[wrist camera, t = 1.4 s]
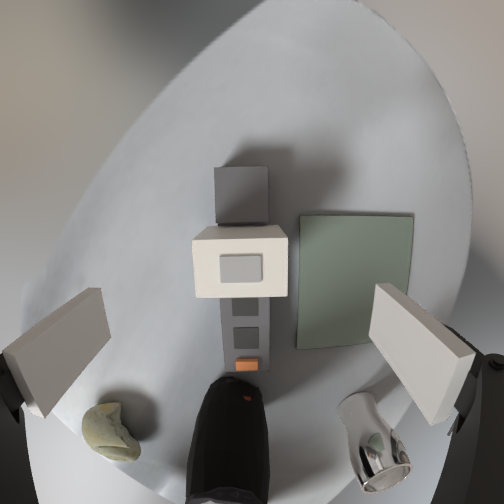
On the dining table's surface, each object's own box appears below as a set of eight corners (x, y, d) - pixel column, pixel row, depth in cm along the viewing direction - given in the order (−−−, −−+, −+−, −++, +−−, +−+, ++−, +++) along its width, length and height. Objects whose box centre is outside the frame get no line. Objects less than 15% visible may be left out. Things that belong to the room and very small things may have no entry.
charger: (278, 268, 29) (287, 297, 21) (210, 269, 29) (195, 298, 21) (277, 224, 28) (288, 238, 20) (208, 226, 28) (191, 240, 20)
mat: (396, 336, 34) (398, 338, 33) (296, 347, 34) (296, 349, 33) (411, 216, 30) (413, 217, 30) (299, 215, 30) (300, 215, 30)
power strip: (267, 355, 34) (269, 374, 30) (227, 355, 34) (224, 374, 30) (265, 168, 29) (268, 165, 25) (218, 170, 29) (213, 167, 25)
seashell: (141, 478, 31) (86, 467, 30) (147, 448, 39) (97, 439, 38) (125, 426, 30) (63, 414, 29) (136, 395, 38) (81, 387, 36)
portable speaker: (234, 361, 34) (224, 489, 15) (278, 400, 36) (292, 517, 17) (189, 390, 35) (158, 504, 17) (233, 425, 37) (227, 533, 18)
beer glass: (380, 385, 35) (422, 456, 21) (372, 416, 37) (404, 484, 22) (337, 393, 35) (366, 473, 21) (332, 424, 37) (354, 499, 22)
